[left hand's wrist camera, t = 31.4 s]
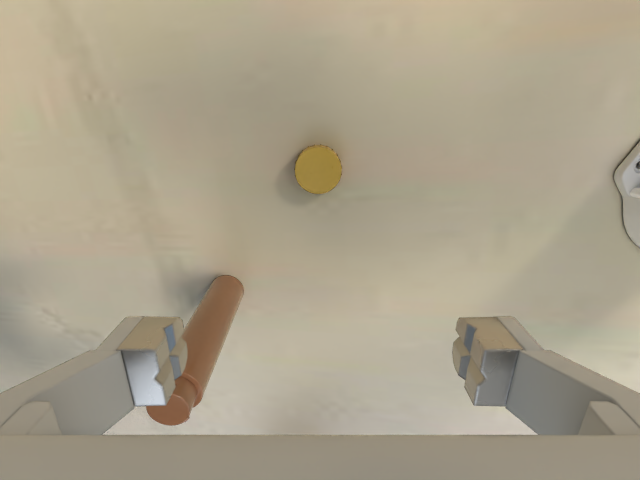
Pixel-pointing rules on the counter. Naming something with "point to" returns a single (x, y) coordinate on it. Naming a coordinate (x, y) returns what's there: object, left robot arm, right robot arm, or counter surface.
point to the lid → (318, 169)
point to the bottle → (201, 348)
